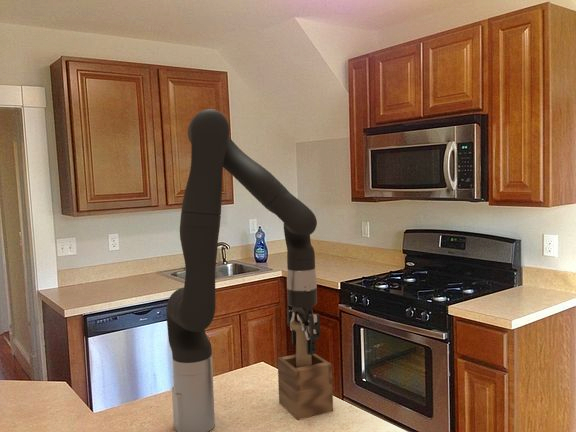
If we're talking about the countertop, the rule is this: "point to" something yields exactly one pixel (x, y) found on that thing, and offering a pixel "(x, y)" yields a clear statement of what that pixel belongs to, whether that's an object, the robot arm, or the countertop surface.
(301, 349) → the handle
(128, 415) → the countertop surface
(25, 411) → the countertop surface
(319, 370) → the wooden box
